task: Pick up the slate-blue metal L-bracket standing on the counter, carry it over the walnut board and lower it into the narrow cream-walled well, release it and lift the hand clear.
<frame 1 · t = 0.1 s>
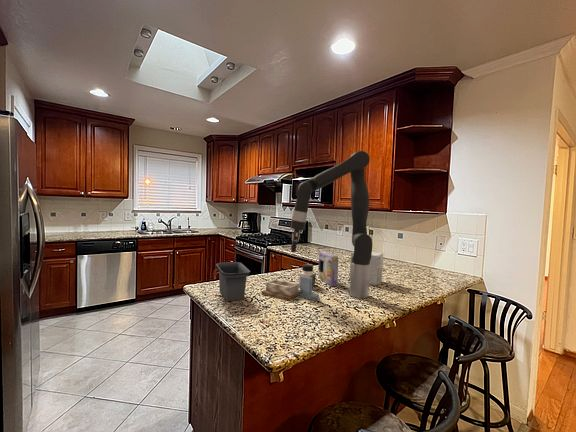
hand: (293, 250, 154), 22 cm above the worktop, tool pointing down, fingers open, 8 cm apart
medicine bottle: (306, 285, 170), on the worktop
well block: (282, 293, 153), on the worktop
storage bin: (229, 296, 146), on the worktop
supplement box: (365, 281, 186), on the worktop
bracket: (305, 296, 150), on the worktop
cake pan box: (326, 282, 179), on the worktop
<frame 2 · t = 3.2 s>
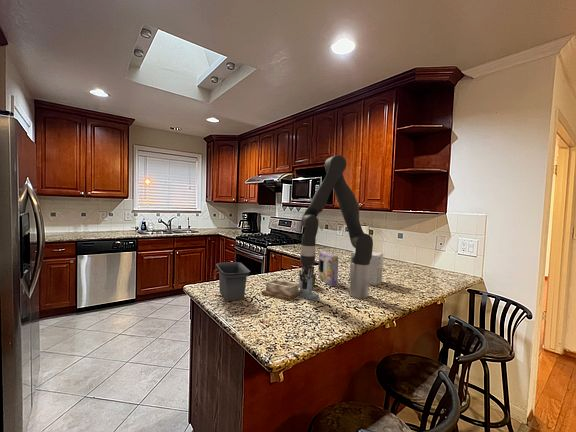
hand: (306, 287, 149), 5 cm above the worktop, tool pointing down, fingers closed on bracket, 3 cm apart
bracket: (305, 296, 150), on the worktop, touching gripper
everything else where it was.
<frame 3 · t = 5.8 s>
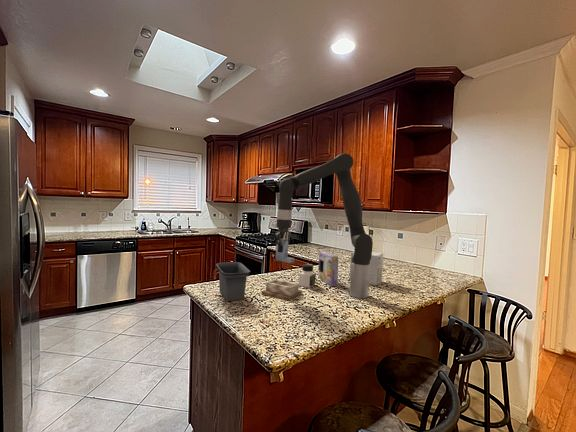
hand: (281, 251, 152), 22 cm above the worktop, tool pointing down, fingers closed on bracket, 3 cm apart
bracket: (281, 260, 152), point 17 cm above the worktop, touching gripper
everything else where it was.
when the fingers open (7 cm above the worktop, at t = 8.5 s): bracket stays where it is, resting on well block.
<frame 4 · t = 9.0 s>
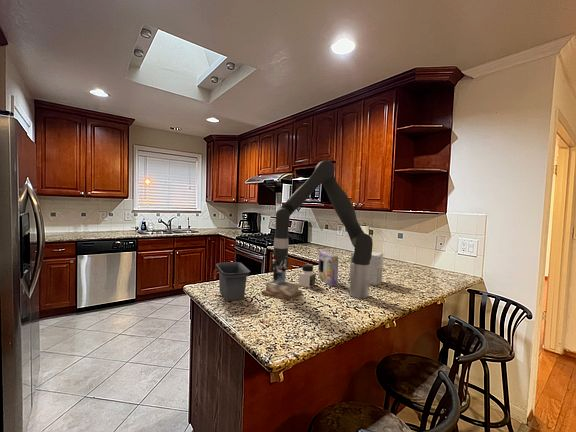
hand: (279, 277, 153), 8 cm above the worktop, tool pointing down, fingers open, 8 cm apart
bracket: (278, 290, 154), point 1 cm above the worktop, touching well block
everything else where it was.
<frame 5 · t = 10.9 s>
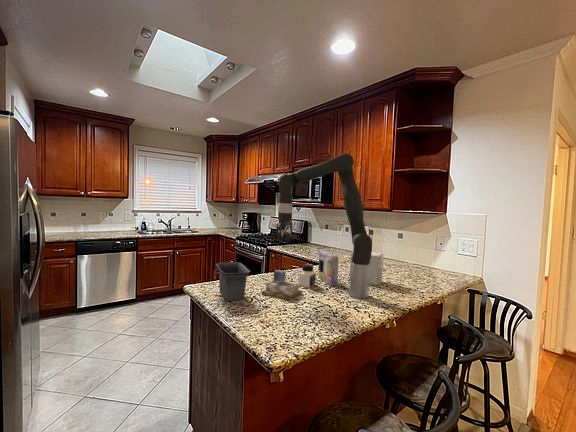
hand: (284, 242, 158), 26 cm above the worktop, tool pointing down, fingers open, 8 cm apart
nothing on the worktop moved.
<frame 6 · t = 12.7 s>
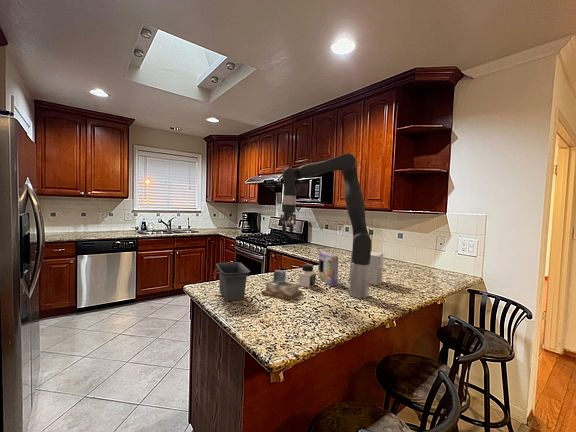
hand: (287, 232, 166), 30 cm above the worktop, tool pointing down, fingers open, 8 cm apart
nothing on the worktop moved.
at the end: bracket 0.1 cm from the target spot on the well block, point 1.5 cm above the well block's base; bracket tilted 0°; the gripper is holding nothing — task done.
